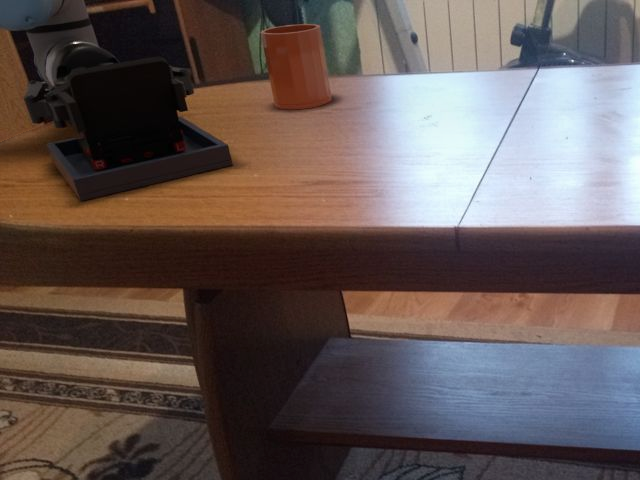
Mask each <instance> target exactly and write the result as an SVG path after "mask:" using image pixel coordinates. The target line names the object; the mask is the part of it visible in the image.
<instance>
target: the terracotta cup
mask: <svg viewBox="0 0 640 480" xmlns="http://www.w3.org/2000/svg"><path fill="white" fill-rule="evenodd" d="M322 34H323V33H322V28H321V25H320V24H315V23H301V24H288V25H281V26H274V27H269V28H266V29H263V30H261V31H260V37H261V43H262V48H263V54H264V57H265V63H266V67H267V72H268V79H269V83H270V88H271V93H272V99H273V102H274V106H275V107H276V108H278V109H279V110H280V109H281V110H303V109H304V110H305V109H310V108H311V109H312V108H316V107H320V106H324V105H327V104H328V103H330V102H331V101H332V100H333V99H332V93H331V92H332V91H331V85H330V79H329V73H328V67H327V60H326V54H325V48H324V47H325V46H324V42H323V35H322Z"/></svg>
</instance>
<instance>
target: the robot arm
mask: <svg viewBox="0 0 640 480" xmlns="http://www.w3.org/2000/svg"><path fill="white" fill-rule="evenodd" d="M0 30H4V31H11V32H12V31H13V32H16V31H17V32H18V31H25V33H26V35H27V39H28V41H29V43H30V47H31V49H32V53H33V54H34V58H33V62H34V66H35V68H36V69H37V73H38V75H39V77H40V79H41V80H42V81H39V80H38V81H37V80H30V81H29V82H27V83H26V85H27V88H28V89H27V91H26V93H25V94H24V96H23V98H22V99H23V101H24V105H25V107H26V109H27V112H28V115H29V117H30V120H31V122H32V124H36V125H39V124H43V123H45V122H46V120H47V118H48V117H51V119H52V121H53V125H54V128H55V129H63V128H67V127H69V125H70V126H71V127H72V128H73V129H74V130H75V131H76V132H77V133H78V134H79V133H83V132H85V131H87V130H86V127H85V124H84V121H83V119H82V116H81V113H80V110H79V107H78V104H77V102H76V101H75V100H74V98H73V95H72V92H71V88H70V85H69V81H68V75H69V74H70V72H72V71H74V70H78V69H84V68H90V67H96V66H102V65H109V64H115V63H121V62H120V60H118V58H116V56H115V55H114V54H112V53H111V52H109V51H108V50H107V49H104V48H102V47H101V46H99V43H98V39H97V37H96V34H95V30H94V27H93V25H92V22H91V18H90V16H89V13H88V10H87V5H86V2H85V0H0ZM169 67H170V72H171V78H172V86H173V92H174V98H175V104H176V110H177V112H180V113H184V112H188V111H189V108H188V105H187V101H186V98H187V97H188V96H192V95H194V94H195V89H194V87H193V81H192V78H191V75H190V71H189V69H188V68H181V67H176V66H172V65H169Z"/></svg>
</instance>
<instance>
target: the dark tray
mask: <svg viewBox="0 0 640 480" xmlns="http://www.w3.org/2000/svg"><path fill="white" fill-rule="evenodd" d="M178 119H179V124H180V126H178V127H179V128H180V129H181V130H182V131H183V140H184V145H185V148H186V150H185V151H181V152H176V153H177V154H175V155H171V156H166V157H162V158H157V159H153V160H148V161H144V162H140V163H135V164H131V165H126V166H122V167H117V168H113V169H107V168H104V169H100V170H95V169H94V168H93V166H92V165H91V164H90V163H89V161H88V160H87V159H86V157H85V156H84V155H83V154H82V151H81V148H80V146H79V143H78V140H79V139H81V138H85V136H84V135H82V136H81V135H80V136H78V137H72V138H67V139H62V140H56V141H52V142H47V143H45V146H46V148H47V152H48V154H49V156H50V160H51V162H52V164H53V165H54V167H55V168H56V169H57V171H58V172H59V173H60V175H61V176H62V178H63V179H64V180H65V182H66V183H67V185H69V187H70V188H71V190H72V191H73V193H74V194H75V195H76V196H77V198H78V199H79V200H80V202H84V201H88V200H93V199H96V198H100V197H106V196H109V195H114V194H117V193H122V192H126V191H130V190H135V189H138V188H142V187H147V186H152V185H155V184H160V183H164V182H169V181H173V180H176V179H181V178H185V177H188V176H193V175H197V174H202V173H205V172H209V171H210V172H211V171H214V170H219V169H222V168H226V167H230V166H233V160H232V155H231V151H230V147H229V144H228V143H226V142H224V141H222V140H221V139H220V138H217V137H216V136H214V135H213V134H211V133H209V132H207V131H206V130H205V129H203V128H201V127H199V126H198V125H196V124H195V123H193V122H191V121H189V120H187V119H186V118H185V117H183V116H178Z"/></svg>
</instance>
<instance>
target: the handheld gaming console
mask: <svg viewBox="0 0 640 480" xmlns="http://www.w3.org/2000/svg"><path fill="white" fill-rule="evenodd" d="M169 66H170V65H169V62H168V61H167V59H166V58H164V57H162V56H152V57H146V58H140V59H134V60H128V61H122V62H120V63H115V64H109V65H102V66H96V67H90V68H84V69H78V70H74V71H72V72H70V74H69V75H68V81H69V85H70V88H71V92H72V95H73V98H74V100H75V101H76V102H77V104H78V107H79V110H80V113H81V116H82V119H83V121H84V124H85V127H86V130H87V131H85V132H82V134H83V136H85V138H81V139H79V140H78V143H79V146H80V148H81V151H82V154H83V155H84V156H85V157H86V159H87V160H88V161H89V163H90V164H91V165H92V166H93V168H94V169H95V170H100V169H104V168H107V169H113V168H117V167H122V166H126V165H131V164H135V163H140V162H144V161H148V160H153V159H157V158H162V157H166V156H171V155H175V154H177V153H176V152H181V151H185V150H186V148H185V145H184V140H183V131H182V130H181V129H180V128H179V127H178V126H180V124H179V119H178V117H179V114H178V110H176V104H175V98H174V92H173V86H172V78H171V72H170V67H169Z"/></svg>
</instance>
